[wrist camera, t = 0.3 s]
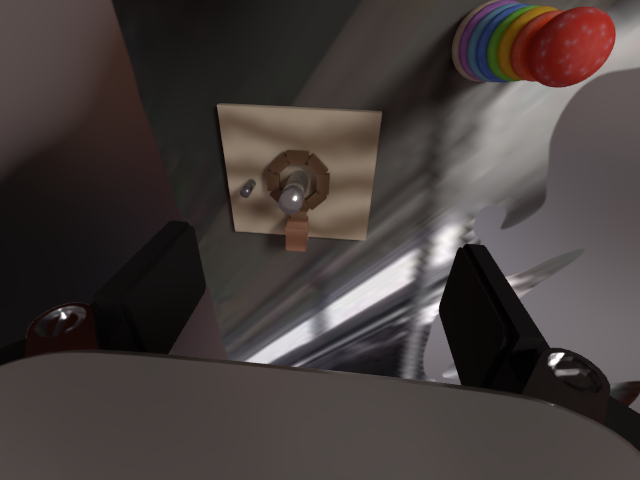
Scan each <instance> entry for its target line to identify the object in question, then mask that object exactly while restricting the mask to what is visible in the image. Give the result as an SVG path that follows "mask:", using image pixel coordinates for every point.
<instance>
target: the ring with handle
mask: <svg viewBox="0 0 640 480" xmlns="http://www.w3.org/2000/svg"><path fill="white" fill-rule="evenodd" d="M288 165H306V166H307V167H308V168H309V169H310V171H311V172H312V173H313V174H314V175H315V176H316V177H317V190H316V191H314V192H313V193H312V194H311V195H310V196H308V197H307V198H304V200H303V203H302V207H301V209H300V211H299V212H298V213H296V214H293V215H290V216H289V219H288V222H287V225H286V228H285V235H286V250H292V251H305V250H306V246H307V241H308V216H307V212H308V209H309V208H310V209H311V210H313V209H315V208H316V207H317V206H318V205H320V204H321V203H322V202H323V201H324V200H326V199H327V195H329V183H330V173H326V172H327V171H328V168H327V167H326V165H325V164H324V163H323V162H322V161H321V160H320V159H319V158H318V157H317V156H316V155H315V154H314V153H313V154H312V155H311V156H310V157H309V151H305V150H287V151H286V154H285V152H284V151H283V152H282V153H281V154H280V155H279V156H278V157H277V158H276V159H275V160H274V161H273V162H272V163H271V164H270V165H269V166H268V168H269V169H267V171H266V179H267V191H272V192H271V193H270V196H271V197H272V198H273V199H274V200H275V201H276V202H277V203H278V202H279V199H280V196H281V194H282V192H283V189H282V188H281V187H280V173H281V172H282V171H283V170H284V169H285V168H286V167H287V166H288Z"/></svg>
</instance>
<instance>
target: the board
mask: <svg viewBox="0 0 640 480" xmlns="http://www.w3.org/2000/svg"><path fill="white" fill-rule="evenodd" d="M217 109H218V116H219V123H220V130H221V137H222V143H223V150H224V157H225V164H226V171H227V178H228V185H229V191H230V198H231V205H232V212H233V219H234V226H235V231H240V232H254V233H268V234H281V235H285V228H286V225H287V222H288V219H289V216H290V215H289V214H286V213H284V212H282V211H281V209H280V208H279V205H278V203H277V202H276V201H275V200H274V199H273V198H272V197H271V196H270V193H271V192H272V191H267V179H266V171H267V169H269V168H268V166H269V165H270V164H271V163H272V162H273V161H274V160H275V159H276V158H277V157H278V156H279V155H280V154H281V153H282V152H283V151H284V152H285V154H286V151H287V150H305V151H309V157H310V156H311V155H312V154H313V153H314V154H315V155H316V156H317V157H318V158H319V159H320V160H321V161H322V162H323V163H324V164H325V165H326V167H327V168H328V171H327V172H326V173H330V183H329V195H327V199H326V200H324V201H323V202H322V203H321V204H320V205H318V206H317V207H316V208H315V209H313V210H311V209H310V208H309V209H308V212H307V216H308V236H309V237H323V238H336V239H350V240H364V241H366V234H367V226H368V218H369V211H370V203H371V195H372V187H373V180H374V172H375V164H376V157H377V149H378V141H379V134H380V126H381V118H382V111H371V110H350V109H329V108H308V107H287V106H266V105H245V104H224V103H220V104H218V105H217ZM296 170H300V171H303V172H305V173H306V174H307V175H308V178H309V183H308V187H307V190H306V193H305V197H304V198H307V197H308V196H310V195H311V194H312V193H313V192H314V191H316V190H317V177H316V176H315V175H314V174H313V173H312V172H311V171H310V169H309V168H308V167H307V166H306V165H288V166H287V167H286V168H285V169H284V170H283V171H282V172H281V173H280V187H281V188H282V189H283V190H284V187H285V185H286V183H287V181H288V178H289V176H290V174H291V173H292V172H294V171H296ZM249 179H253V180H254V181H255V182H256V186H255V188H254V189H253V191H252V192H251V194H250V195H249V197H247V198H244V197H242V196H241V195H240V191H241V189H242V188H243V186H244V185H245V184H246V182H247V181H248V180H249Z"/></svg>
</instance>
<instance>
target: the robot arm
mask: <svg viewBox="0 0 640 480" xmlns="http://www.w3.org/2000/svg"><path fill="white" fill-rule="evenodd" d="M205 288H206V283H205V278H204V273H203V268H202V263H201V258H200V254H199V249H198V244H197V239H196V234H195V230H194V228H193V227H192V226H190V225H189V223H188V222H181V221H169V222H168V223H167V224H166V225H165V226H164V227H163V228H162V229H161V230H160V231H159V232H158V233H157V234H156V235H155V236H154V237H153V238H152V239H151V240H150V241H149V242H148V243H147V244H146V245H145V246H144V247H143V248H142V249H141V250H140V251H139V252H138V253H136V255H134V257H132V258H131V259H130V260H129V261H128V262H127V263H126V264H125V265H124V266H123V267H122V268H121V269H120V270H119V271H118V272H117V273H116V274H115V275H114V276H113V277H112V278H111V279H110V280H109V281H108V282H107V283H106V284H105V285H104V286H103V287H102V288H101V289H100V290H99V291H98V292H97V293H96V294H95V295H94V296H93V298H94V300H95V301H94V302H93V303H92V304H90V305H87V304H85V303H79V302H77V303H68V304H64V305H60V306H58V307H55V308H53V309H50V310H49V311H47V312H45V313H43V314H42V315H40V316H39V317H38V318H37V319H35V320H34V322H33V323H32V324H31V325H30V326H29V329H28V332H27V338H25V339H23V340H20V341H18V342H15V343H12V344H10V345H7V346H5V347H2V348H0V480H640V414H639V413H637V412H636V411H634V410H632V409H631V408H629V407H627V406H626V405H624V404H623V403H621V402H619V401H618V400H616V399H614V398H613V397H611V396H610V392H611V390H610V384H609V382H608V380H607V377H606V376H605V375H604V374H603V373H602V371H601V370H600V369H599V368H598V367H596V366H595V365H594V364H593V363H592V362H591V361H589V360H588V359H586V358H584V357H583V356H581V355H579V354H577V353H575V352H572V351H570V350H566V349H562V348H550V347H549V345H548V344H547V342H546V341H545V339H544V337H543V336H542V334H541V333H540V331H539V329H538V328H537V326H536V325H535V323H534V322H533V320H532V318H531V317H530V315H529V314H528V312H527V311H526V309H525V308H524V306H523V304H522V303H521V301H520V300H519V298H518V297H517V295H516V293H515V292H514V290H513V289H512V287H511V286H510V284H509V283H508V281H507V279H506V278H505V276H504V275H503V273H502V272H501V270H500V269H499V267H498V266H497V264H496V262H495V261H494V259H493V258H492V256H491V254H490V253H489V251H488V250H487V248H486V247H485V246H484V245H476V244H465V245H464V246H463V248H461V247H460V248H459V249H458V250H457V253H456V256H455V259H454V262H453V265H452V268H451V271H450V274H449V277H448V280H447V283H446V286H445V289H444V292H443V296H442V299H441V302H440V305H439V314H440V318H441V321H442V324H443V327H444V330H445V334H446V337H447V340H448V344H449V347H450V350H451V353H452V356H453V359H454V363H455V366H456V369H457V372H458V376H459V379H460V382H461V385H454V384H447V383H438V382H431V381H422V380H413V379H403V378H394V377H385V376H376V375H366V374H357V373H348V372H339V371H329V370H319V369H310V368H300V367H290V366H280V365H271V364H261V363H251V362H241V361H231V360H220V359H210V358H200V357H199V358H198V357H189V356H179V355H168V353H169V352H170V350H171V348H172V347H173V345H174V343H175V342H176V340H177V338H178V336H179V335H180V333H181V331H182V329H183V328H184V326H185V325H186V323H187V321H188V320H189V318H190V316H191V314H192V313H193V311H194V309H195V308H196V306H197V304H198V303H199V301H200V299H201V297H202V296H203V294H204V292H205Z"/></svg>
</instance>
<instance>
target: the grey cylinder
mask: <svg viewBox="0 0 640 480" xmlns="http://www.w3.org/2000/svg"><path fill="white" fill-rule="evenodd" d="M308 183H309V178H308V175H307V174H306V173H305V172H303V171H300V170H296V171H294V172H292V173H291V174H290V176H289V178H288V181H287V183H286V185H285V187H284V190H283V192H282V194H281V196H280V199H279V202H278V205H279V208H280V209H281V211H282V212H284V213H286V214H289V215H293V214H296V213H298V212H299V211H300V209H301V207H302V203H303V200H304V197H305V193H306V190H307V187H308ZM255 186H256V182H255V181H254V180H253V179H249V180H248V181H247V182H246V184H245V185H244V186H243V188H242V189H241V191H240V195H241V196H242V197H244V198H247V197H249V195H250V194H251V192H252V191H253V189H254V188H255Z"/></svg>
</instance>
